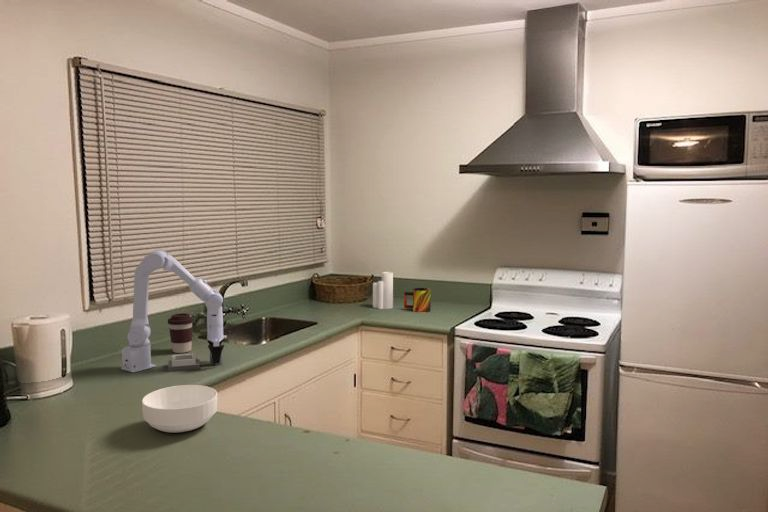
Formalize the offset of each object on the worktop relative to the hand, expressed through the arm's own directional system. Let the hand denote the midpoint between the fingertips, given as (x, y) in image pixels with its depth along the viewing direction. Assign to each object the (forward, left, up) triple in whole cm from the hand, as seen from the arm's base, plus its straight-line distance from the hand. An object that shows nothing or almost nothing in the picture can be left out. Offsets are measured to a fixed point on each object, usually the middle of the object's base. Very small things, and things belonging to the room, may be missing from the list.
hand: (216, 360), depth 220 cm
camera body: (-9, +7, -1) cm, 11 cm away
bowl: (-44, -39, -2) cm, 59 cm away
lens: (0, 0, -1) cm, 1 cm away
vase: (+127, +12, -2) cm, 128 cm away
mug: (+131, -9, -2) cm, 131 cm away
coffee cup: (+4, +26, -2) cm, 26 cm away
